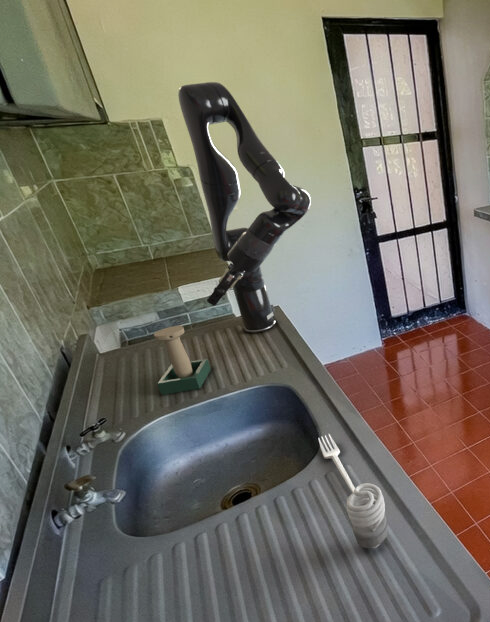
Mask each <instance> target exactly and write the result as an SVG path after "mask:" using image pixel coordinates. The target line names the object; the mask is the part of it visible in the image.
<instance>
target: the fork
mask: <svg viewBox="0 0 490 622" xmlns="http://www.w3.org/2000/svg"><path fill="white" fill-rule="evenodd" d="M327 434H328V437H329V439H328V437H327V435H326V434H324V437H323V436H320V437H321V439H320V437H317V438H318V443H319V447H320V451H321V453H322V456H323V458H324V459H327V460H328V459H331V460H332V461H333V463H334V465H335V466H336V468H337V470H338V471H339V473H340V474H341V476H342V478H343V480H344V481H345V483H346V485H347V487H348V488H349V490H350V491H351V494H352V493H354V490H355V488H356V486H355V485H354V483H353V482H352V480H351V477H350V476H349V475H348V472H347V470H346V469H345V467H344V465H343V463H342V462H341V460H340V458H339V455H340V453H341V451H340V449H339V447H338V445H337V444H336V442H335V441H334V439H333V438H332V436H331V433H327ZM324 438H325V439H324ZM325 440H326V441H325ZM329 440H330V441H329ZM330 442H331V443H330ZM355 497H356V496H355Z"/></svg>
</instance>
